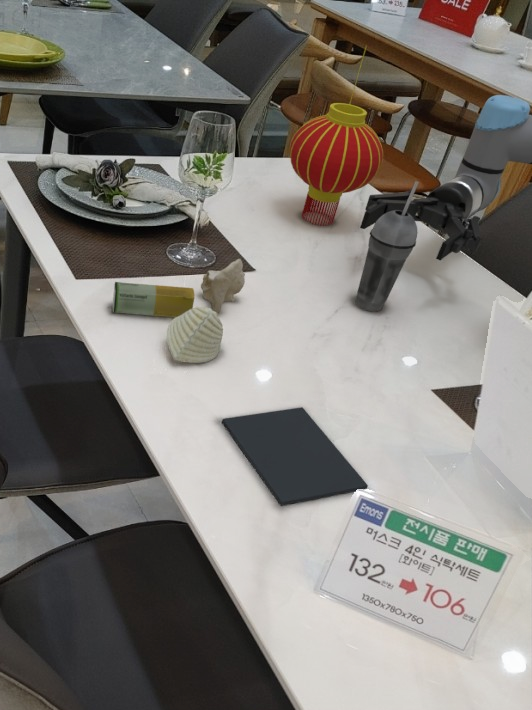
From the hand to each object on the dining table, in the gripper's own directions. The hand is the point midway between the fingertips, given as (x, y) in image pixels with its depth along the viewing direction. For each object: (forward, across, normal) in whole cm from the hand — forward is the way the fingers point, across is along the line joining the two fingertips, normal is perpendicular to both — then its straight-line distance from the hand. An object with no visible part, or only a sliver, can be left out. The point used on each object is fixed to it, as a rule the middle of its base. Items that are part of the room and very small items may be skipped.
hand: (402, 235), depth 122 cm
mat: (+49, -11, -11) cm, 51 cm away
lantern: (-20, +23, -11) cm, 32 cm away
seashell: (+39, +12, -11) cm, 42 cm away
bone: (+24, +17, -11) cm, 32 cm away
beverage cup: (+4, 0, -11) cm, 12 cm away
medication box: (+36, +22, -11) cm, 43 cm away
